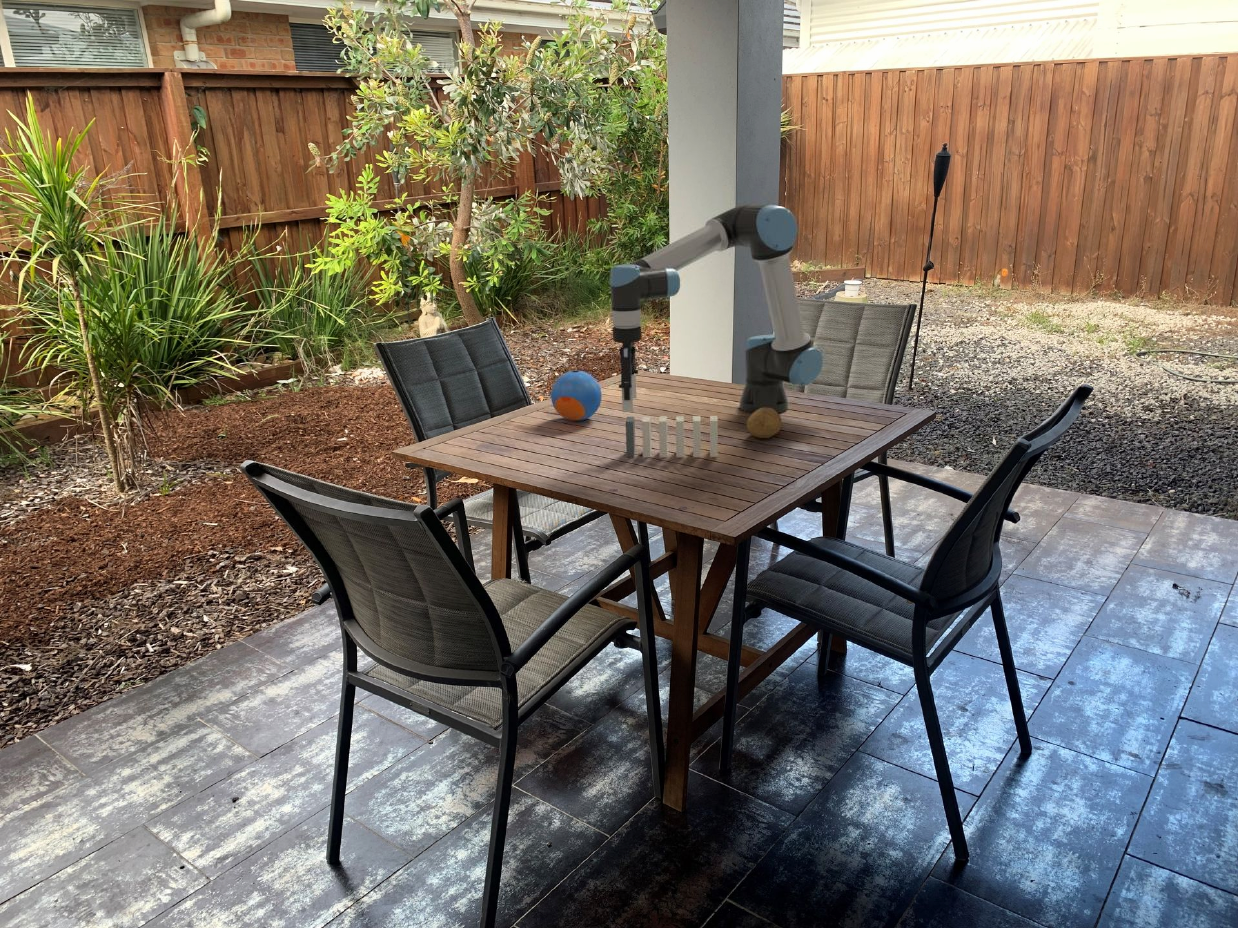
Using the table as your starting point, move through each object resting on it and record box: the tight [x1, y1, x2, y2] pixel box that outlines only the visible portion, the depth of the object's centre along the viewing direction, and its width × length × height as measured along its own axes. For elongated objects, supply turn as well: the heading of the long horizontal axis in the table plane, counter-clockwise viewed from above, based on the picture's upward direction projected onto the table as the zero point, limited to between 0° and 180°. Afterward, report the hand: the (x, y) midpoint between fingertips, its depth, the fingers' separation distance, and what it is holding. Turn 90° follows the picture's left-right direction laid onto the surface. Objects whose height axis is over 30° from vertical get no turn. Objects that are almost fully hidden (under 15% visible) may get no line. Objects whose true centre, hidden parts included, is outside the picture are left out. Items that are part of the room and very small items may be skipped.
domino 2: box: [641, 416, 652, 458], centre depth 246 cm, size 2×5×10 cm, turn 175°
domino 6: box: [709, 415, 719, 458], centre depth 244 cm, size 2×5×10 cm, turn 175°
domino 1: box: [625, 416, 636, 458], centre depth 246 cm, size 2×5×10 cm, turn 175°
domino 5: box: [692, 415, 702, 458], centre depth 244 cm, size 2×5×10 cm, turn 175°
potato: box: [745, 408, 782, 439], centre depth 258 cm, size 10×14×8 cm
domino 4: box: [675, 415, 685, 458], centre depth 245 cm, size 2×5×10 cm, turn 175°
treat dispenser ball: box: [550, 370, 603, 422], centre depth 280 cm, size 16×15×15 cm
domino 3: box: [658, 415, 669, 458], centre depth 245 cm, size 2×5×10 cm, turn 175°
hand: (629, 404), depth 243 cm, fingers open, 13 cm apart
